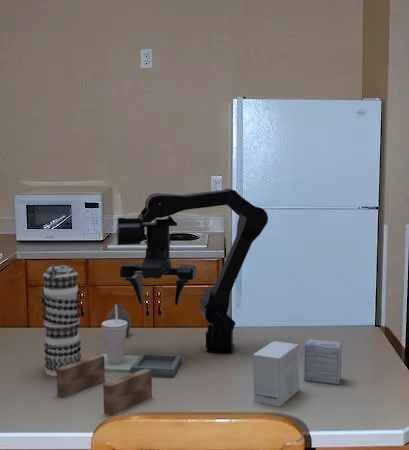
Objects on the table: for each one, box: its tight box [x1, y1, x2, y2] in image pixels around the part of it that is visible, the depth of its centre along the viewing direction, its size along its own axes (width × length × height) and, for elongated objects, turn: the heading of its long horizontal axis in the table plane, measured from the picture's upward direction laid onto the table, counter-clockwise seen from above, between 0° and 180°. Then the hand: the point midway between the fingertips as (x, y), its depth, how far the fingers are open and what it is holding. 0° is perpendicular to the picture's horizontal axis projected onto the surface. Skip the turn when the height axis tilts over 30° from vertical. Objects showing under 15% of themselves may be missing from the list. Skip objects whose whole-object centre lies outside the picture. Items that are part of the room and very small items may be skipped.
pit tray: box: [130, 353, 183, 378], centre depth 155 cm, size 10×10×2 cm
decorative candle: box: [40, 264, 82, 377], centre depth 153 cm, size 9×9×25 cm
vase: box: [105, 303, 132, 336], centre depth 182 cm, size 7×7×9 cm
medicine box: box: [303, 339, 343, 385], centre depth 147 cm, size 8×4×9 cm, turn 71°
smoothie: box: [101, 304, 128, 364], centre depth 158 cm, size 6×6×14 cm
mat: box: [100, 353, 140, 373], centre depth 159 cm, size 10×10×1 cm
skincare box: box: [252, 340, 300, 408], centre depth 138 cm, size 10×6×10 cm, turn 150°
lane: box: [56, 354, 153, 416], centre depth 138 cm, size 12×17×6 cm
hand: (158, 304), depth 165 cm, fingers open, 9 cm apart
